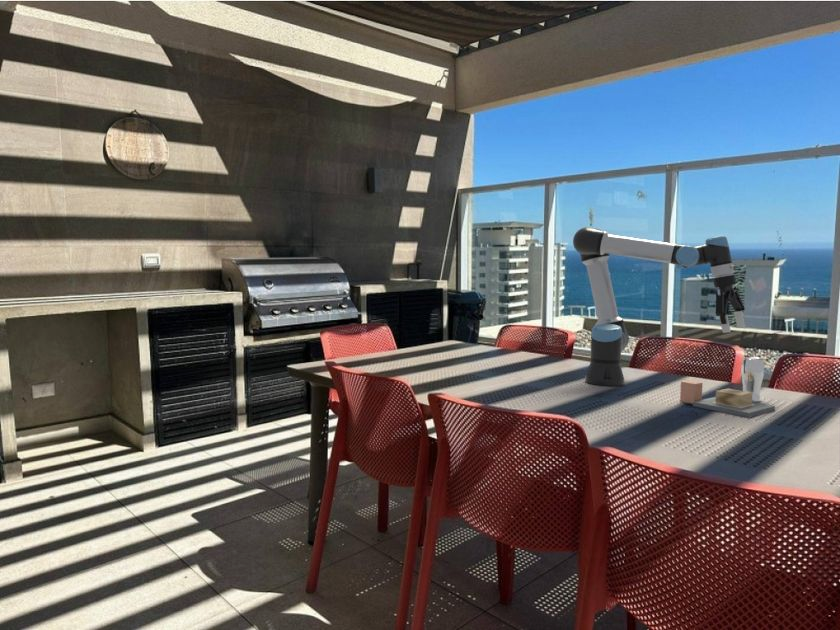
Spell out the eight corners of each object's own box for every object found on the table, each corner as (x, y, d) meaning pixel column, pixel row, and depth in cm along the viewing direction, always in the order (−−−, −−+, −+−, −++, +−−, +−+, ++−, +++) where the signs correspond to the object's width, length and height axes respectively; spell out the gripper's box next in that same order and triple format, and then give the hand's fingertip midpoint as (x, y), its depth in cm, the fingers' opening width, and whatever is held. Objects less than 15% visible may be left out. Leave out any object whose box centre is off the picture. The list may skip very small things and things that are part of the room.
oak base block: (715, 402, 190) (716, 390, 190) (727, 399, 195) (727, 388, 195) (740, 407, 184) (740, 395, 183) (751, 404, 188) (752, 392, 188)
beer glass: (759, 398, 205) (762, 357, 204) (764, 402, 198) (767, 360, 197) (737, 397, 207) (740, 356, 206) (741, 401, 201) (744, 359, 200)
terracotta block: (680, 401, 199) (681, 381, 198) (687, 399, 202) (688, 380, 201) (693, 404, 195) (694, 384, 194) (701, 402, 198) (702, 382, 197)
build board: (692, 406, 192) (692, 401, 191) (719, 399, 202) (719, 395, 202) (748, 417, 177) (748, 412, 177) (774, 410, 187) (774, 405, 187)
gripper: (719, 276, 209) (730, 333, 208) (746, 272, 225) (757, 324, 224) (699, 280, 215) (710, 335, 214) (727, 275, 230) (737, 327, 230)
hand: (734, 330), depth 219 cm, fingers open, 13 cm apart
